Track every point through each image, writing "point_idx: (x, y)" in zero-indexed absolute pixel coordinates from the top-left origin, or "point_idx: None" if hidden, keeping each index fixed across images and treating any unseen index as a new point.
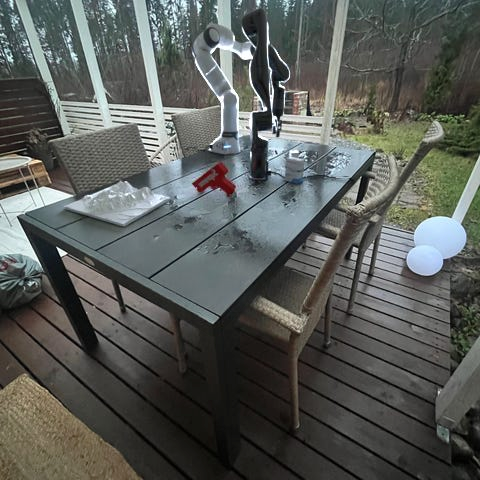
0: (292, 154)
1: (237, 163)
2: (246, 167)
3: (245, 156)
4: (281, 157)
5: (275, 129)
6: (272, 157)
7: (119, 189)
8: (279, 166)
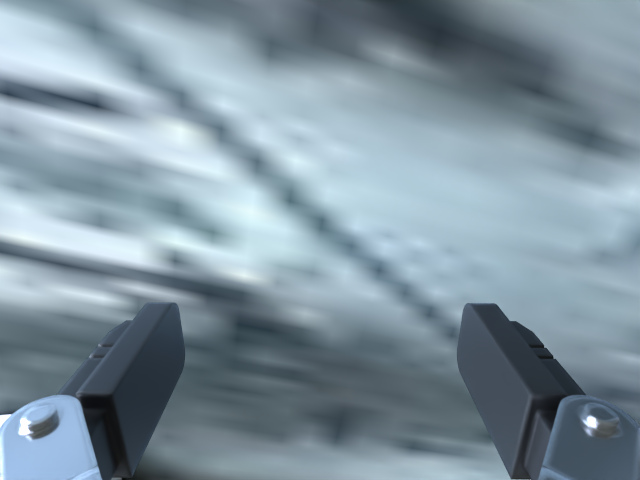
0: None
1: (373, 476)
2: (486, 441)
3: (194, 403)
4: (258, 90)
5: (139, 377)
6: (247, 190)
7: None
8: (559, 201)
